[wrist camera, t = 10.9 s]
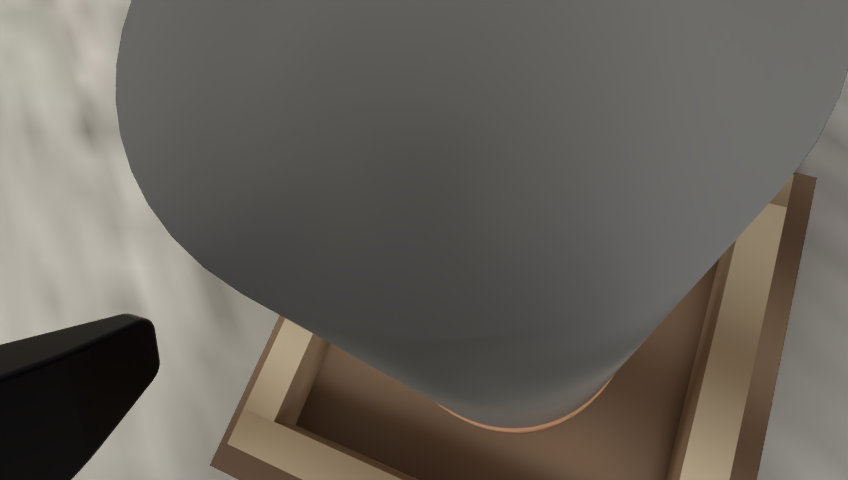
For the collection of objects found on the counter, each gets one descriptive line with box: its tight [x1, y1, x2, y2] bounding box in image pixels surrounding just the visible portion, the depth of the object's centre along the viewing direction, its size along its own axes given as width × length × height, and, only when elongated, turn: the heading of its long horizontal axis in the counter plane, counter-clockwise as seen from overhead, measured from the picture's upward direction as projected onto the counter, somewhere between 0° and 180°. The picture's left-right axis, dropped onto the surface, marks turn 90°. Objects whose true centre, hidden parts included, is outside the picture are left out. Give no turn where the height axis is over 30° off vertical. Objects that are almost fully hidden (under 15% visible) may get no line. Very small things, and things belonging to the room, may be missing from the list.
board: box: [210, 173, 816, 480], centre depth 16 cm, size 14×14×2 cm
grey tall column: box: [116, 0, 848, 434], centre depth 11 cm, size 6×6×13 cm
